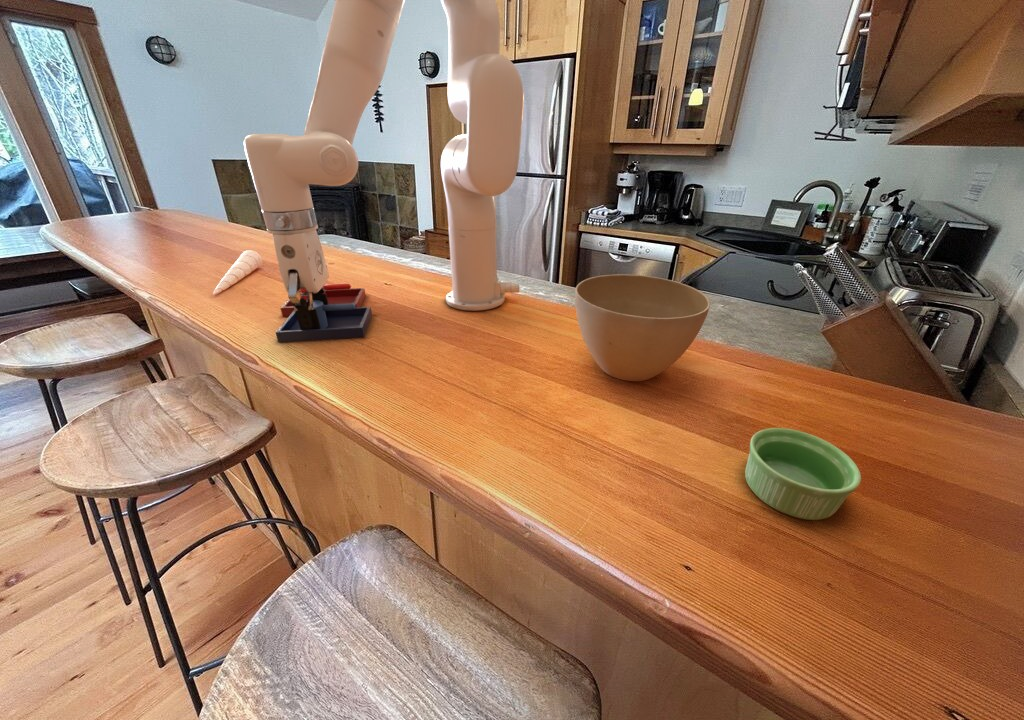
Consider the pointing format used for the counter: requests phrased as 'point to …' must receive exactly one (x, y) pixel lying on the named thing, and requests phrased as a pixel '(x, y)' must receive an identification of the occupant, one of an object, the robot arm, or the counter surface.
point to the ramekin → (799, 473)
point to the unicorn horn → (239, 269)
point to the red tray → (333, 299)
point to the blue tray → (338, 326)
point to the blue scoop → (322, 308)
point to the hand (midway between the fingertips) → (316, 321)
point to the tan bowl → (638, 322)
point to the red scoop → (330, 288)
